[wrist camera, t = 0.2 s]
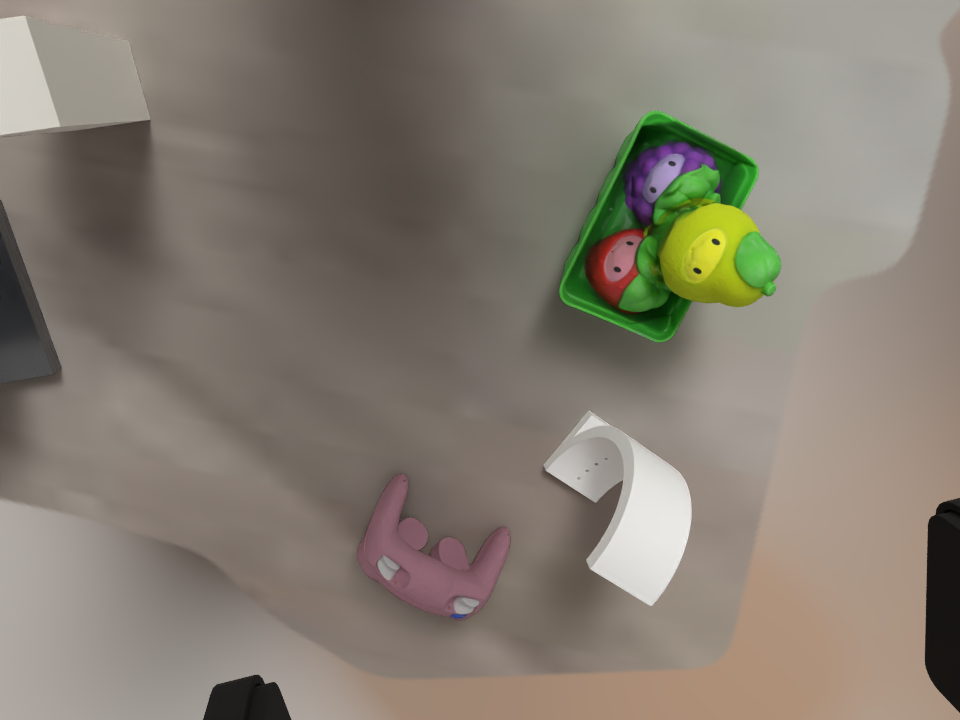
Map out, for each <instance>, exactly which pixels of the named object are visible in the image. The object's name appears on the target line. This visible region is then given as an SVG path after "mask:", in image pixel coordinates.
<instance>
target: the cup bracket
mask: <svg viewBox="0 0 960 720" xmlns="http://www.w3.org/2000/svg"><path fill="white" fill-rule="evenodd" d="M60 368H61V365H60V363H59V360H58V357H57V354H56V351H55V349H54V346H53V343H52V340H51V338H50V335H49V332H48V329H47V327H46V324H45V321H44V318H43V315H42V313H41V310H40V307H39V304H38V302H37V299H36V296H35V293H34V291H33V288H32V285H31V282H30V279H29V277H28V274H27V271H26V268H25V266H24V263H23V260H22V257H21V254H20V252H19V249H18V246H17V243H16V241H15V238H14V235H13V232H12V230H11V227H10V224H9V221H8V218H7V216H6V213H5V210H4V207H3V205H2V202H1V200H0V383H6V382H12V381H18V380H24V379H30V378H36V377H42V376H48V375H53V374H54V373H55V372H57V371H58V370H59V369H60Z"/></svg>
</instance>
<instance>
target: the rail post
mask: <svg viewBox="0 0 960 720" xmlns="http://www.w3.org/2000/svg"><path fill="white" fill-rule="evenodd" d="M146 120H150V116H149V112H148V109H147V105H146V102H145V98H144V95H143V91H142V87H141V84H140V80H139V77H138V73H137V70H136V66H135V62H134V59H133V55H132V52H131V48H130V45H129V41H126V40H122V39H118V38H114V37H110V36H106V35H102V34H98V33H94V32H90V31H86V30H81V29H77V28H73V27H69V26H65V25H61V24H57V23H53V22H49V21H45V20H41V19H37V18H32V17H28V16H18V17H11V18H3V19H0V137H11V136H22V135H33V134H44V133H55V132H66V131H77V130H84V129H91V128H97V127H104V126H111V125H118V124H125V123H132V122H139V121H146Z"/></svg>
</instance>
